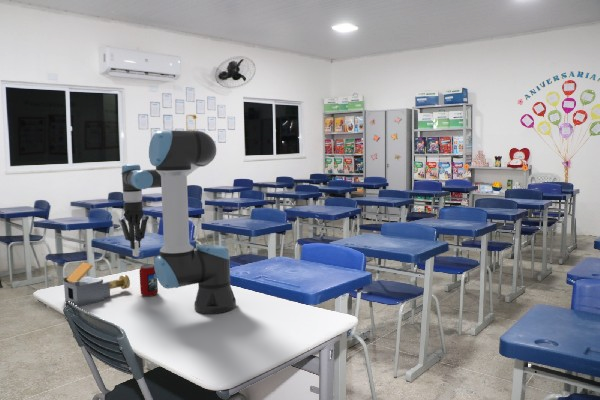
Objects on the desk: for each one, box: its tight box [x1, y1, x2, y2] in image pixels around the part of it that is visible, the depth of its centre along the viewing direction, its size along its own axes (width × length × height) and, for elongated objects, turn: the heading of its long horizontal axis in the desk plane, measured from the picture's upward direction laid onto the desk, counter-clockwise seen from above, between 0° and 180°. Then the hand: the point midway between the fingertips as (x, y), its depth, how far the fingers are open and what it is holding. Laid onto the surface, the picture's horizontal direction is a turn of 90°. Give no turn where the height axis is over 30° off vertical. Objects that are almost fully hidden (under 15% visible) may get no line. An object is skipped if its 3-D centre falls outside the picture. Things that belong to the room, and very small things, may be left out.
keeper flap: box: [66, 261, 94, 283], centre depth 190 cm, size 8×9×1 cm
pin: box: [108, 274, 131, 290], centre depth 199 cm, size 16×6×6 cm, turn 137°
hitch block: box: [62, 275, 111, 307], centre depth 193 cm, size 12×14×10 cm
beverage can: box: [138, 263, 159, 297], centre depth 198 cm, size 7×7×12 cm
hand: (136, 255), depth 208 cm, fingers closed
